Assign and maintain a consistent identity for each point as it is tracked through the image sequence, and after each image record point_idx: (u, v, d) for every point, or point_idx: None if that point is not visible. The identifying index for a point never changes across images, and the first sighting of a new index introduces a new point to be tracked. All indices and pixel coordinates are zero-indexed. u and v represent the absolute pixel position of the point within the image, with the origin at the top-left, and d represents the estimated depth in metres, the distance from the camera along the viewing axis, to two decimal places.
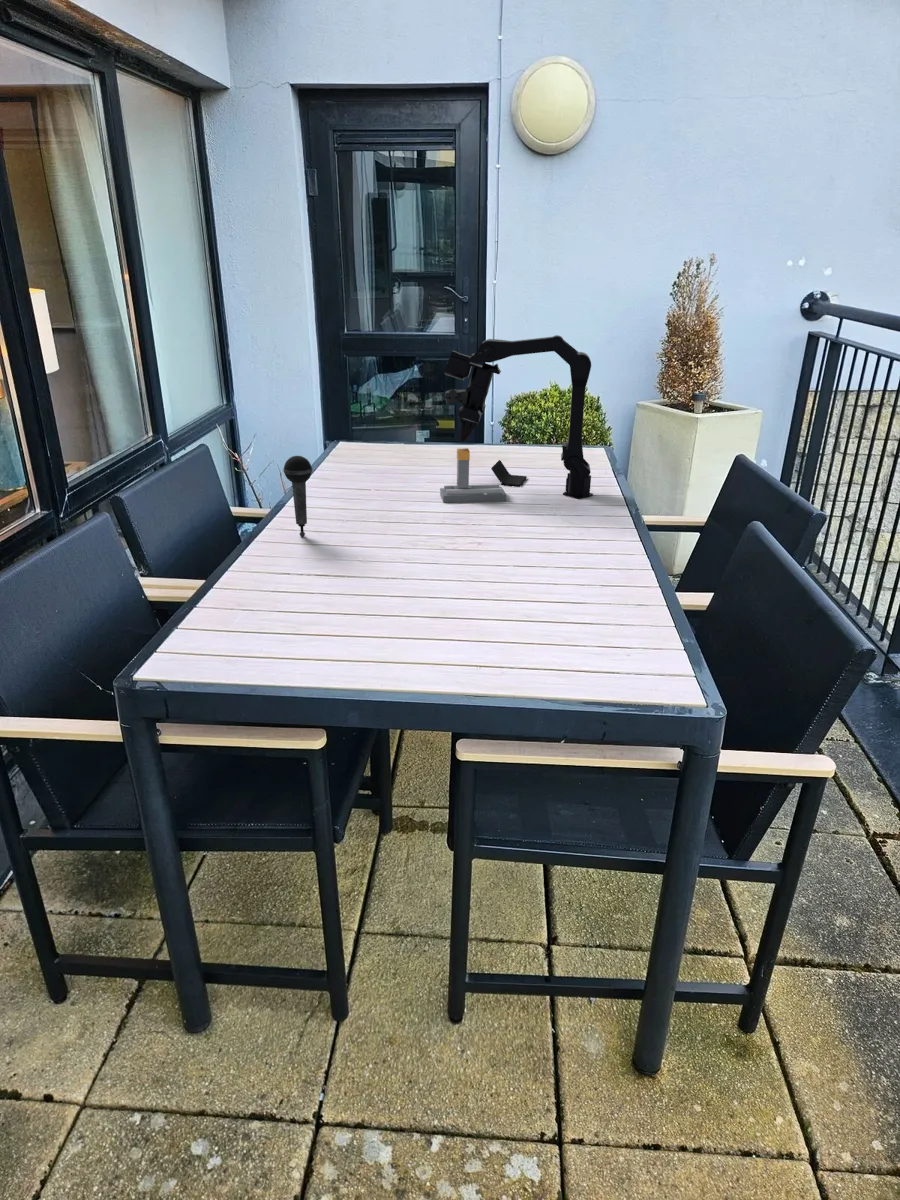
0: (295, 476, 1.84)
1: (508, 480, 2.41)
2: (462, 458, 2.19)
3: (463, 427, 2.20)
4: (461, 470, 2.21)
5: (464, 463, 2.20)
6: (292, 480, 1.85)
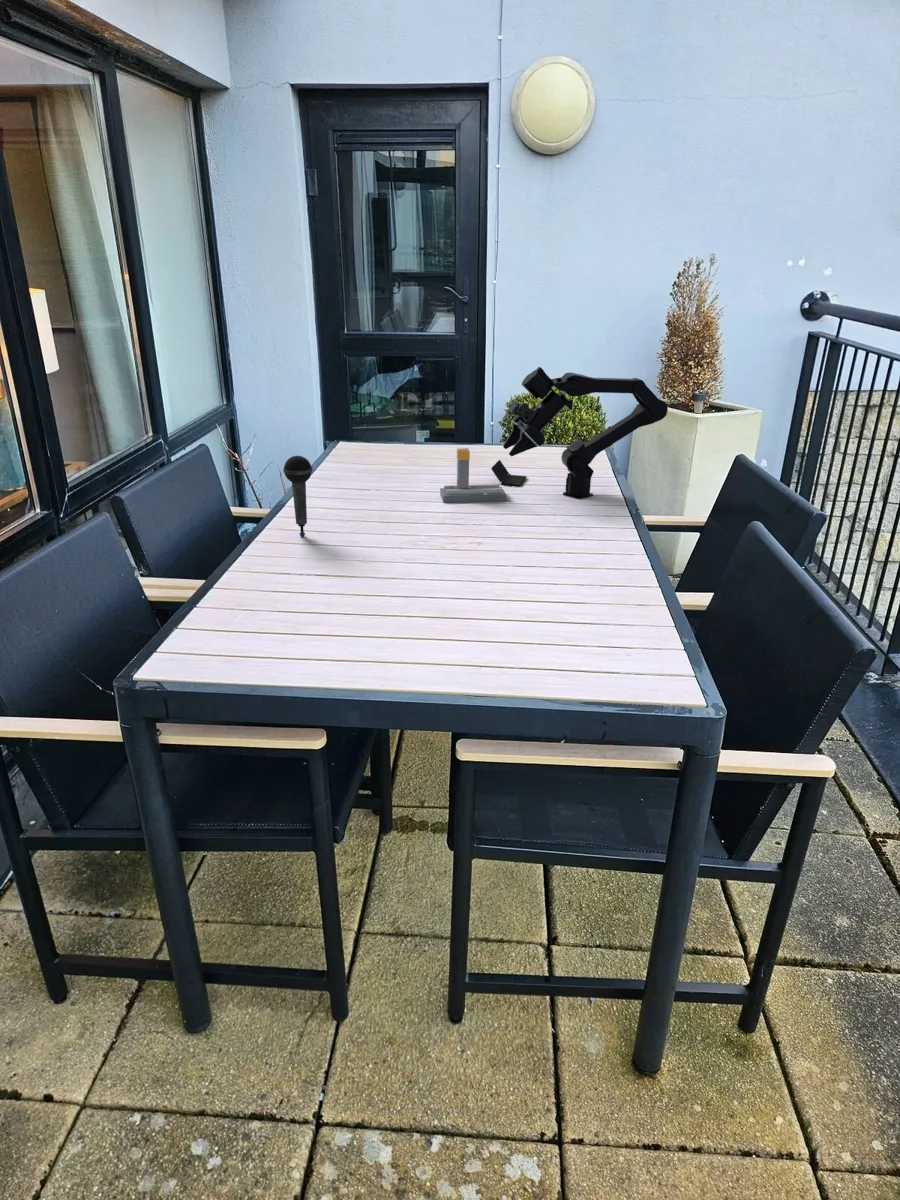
0: (295, 476, 1.84)
1: (508, 480, 2.41)
2: (462, 458, 2.19)
3: (520, 443, 2.15)
4: (461, 470, 2.21)
5: (464, 463, 2.20)
6: (292, 480, 1.85)
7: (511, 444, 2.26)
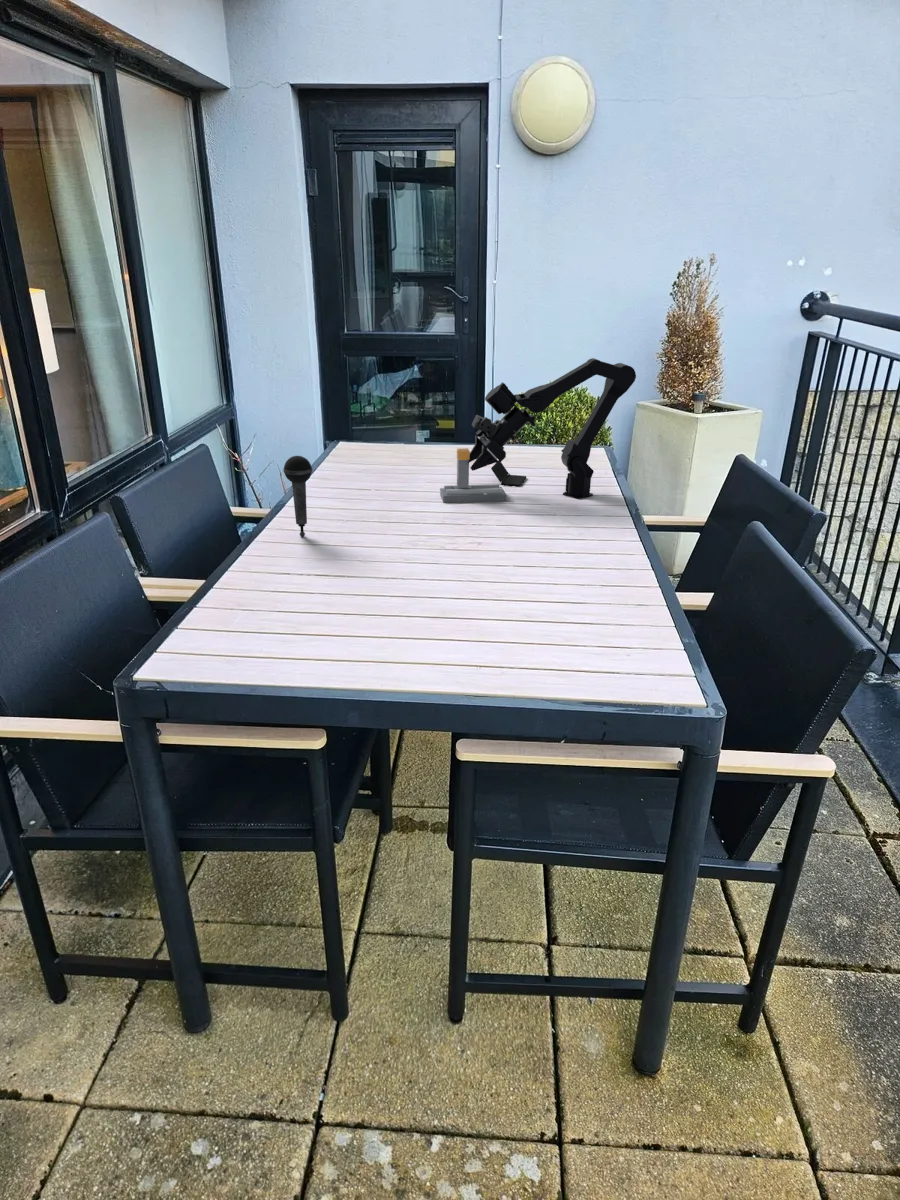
0: (295, 476, 1.84)
1: (508, 480, 2.41)
2: (462, 458, 2.19)
3: (481, 458, 2.16)
4: (461, 470, 2.21)
5: (464, 463, 2.20)
6: (292, 480, 1.85)
7: (474, 458, 2.26)
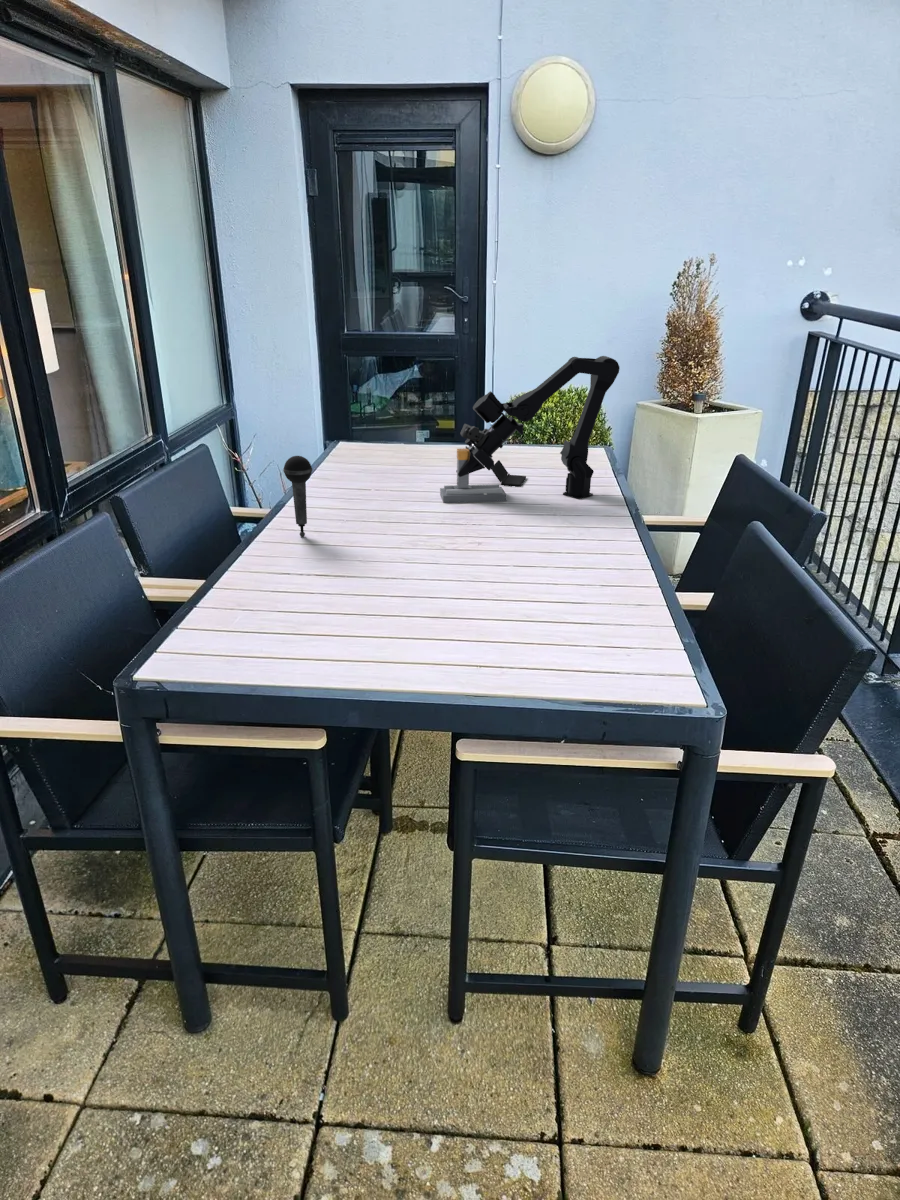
0: (295, 476, 1.84)
1: (508, 480, 2.41)
2: (462, 458, 2.19)
3: (468, 464, 2.19)
4: None
5: (464, 463, 2.20)
6: (292, 480, 1.85)
7: None
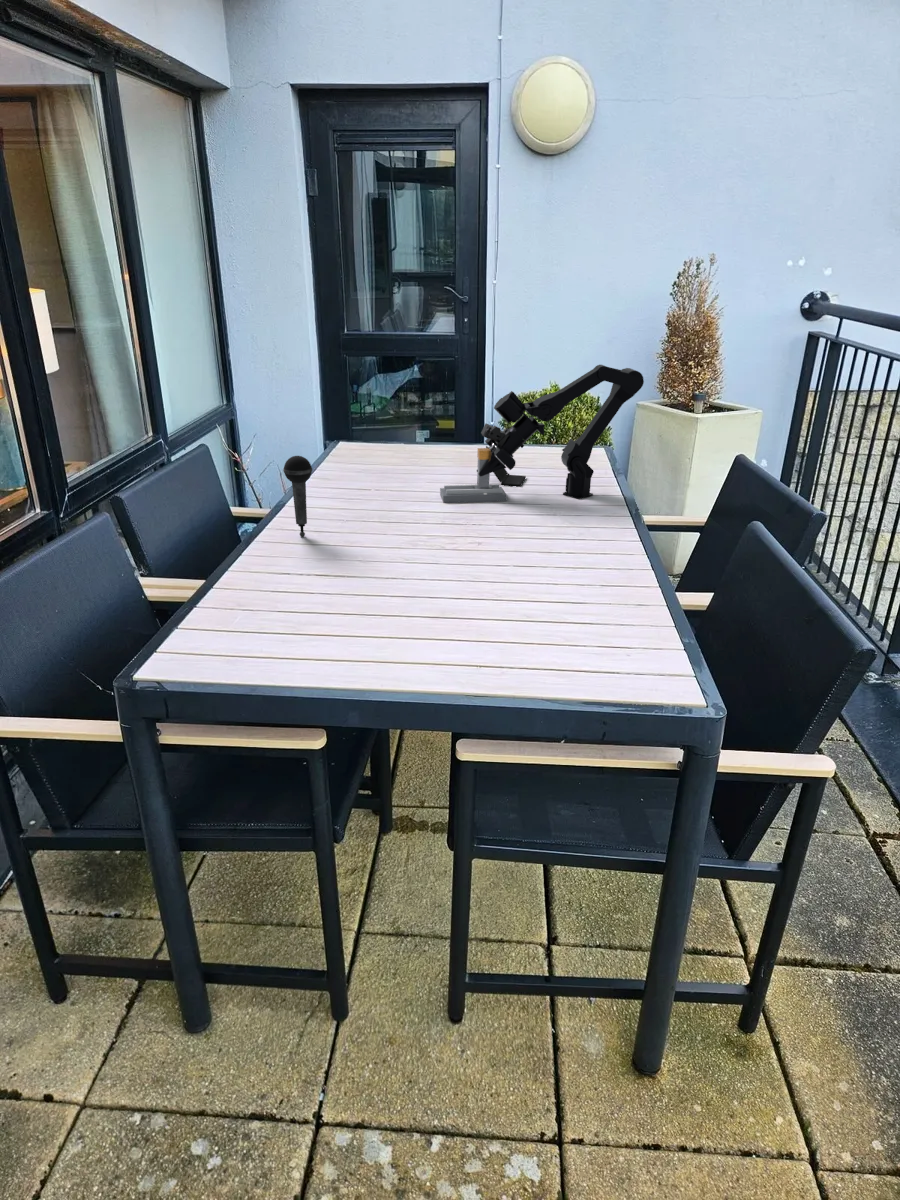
0: (295, 476, 1.84)
1: (508, 480, 2.41)
2: (483, 458, 2.20)
3: (489, 464, 2.19)
4: None
5: (485, 463, 2.21)
6: (292, 480, 1.85)
7: None
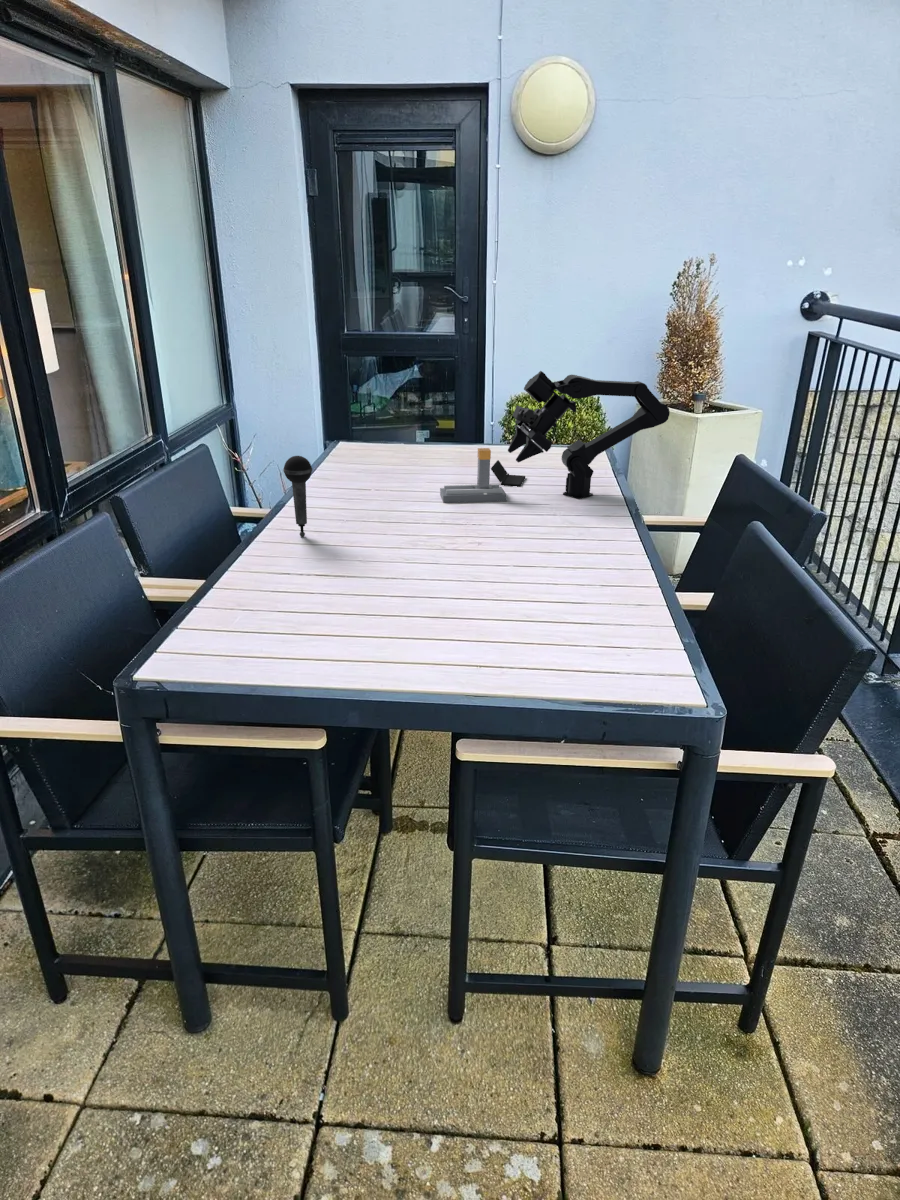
0: (295, 476, 1.84)
1: (507, 480, 2.41)
2: (483, 458, 2.20)
3: (526, 449, 2.16)
4: (482, 470, 2.21)
5: (485, 463, 2.21)
6: (292, 480, 1.85)
7: (515, 448, 2.27)
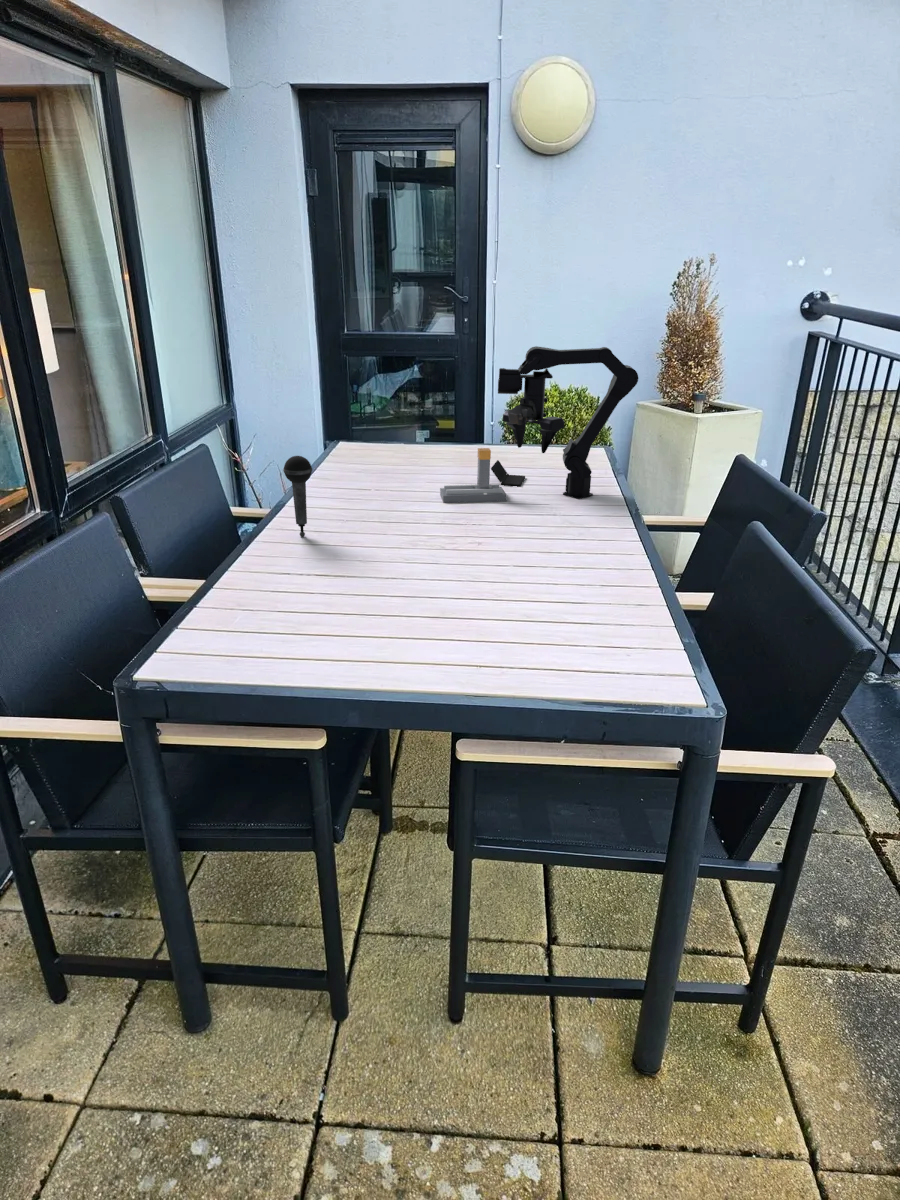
0: (295, 476, 1.84)
1: (507, 480, 2.41)
2: (483, 458, 2.20)
3: (546, 439, 2.19)
4: (482, 470, 2.21)
5: (485, 463, 2.21)
6: (292, 480, 1.85)
7: (522, 439, 2.28)
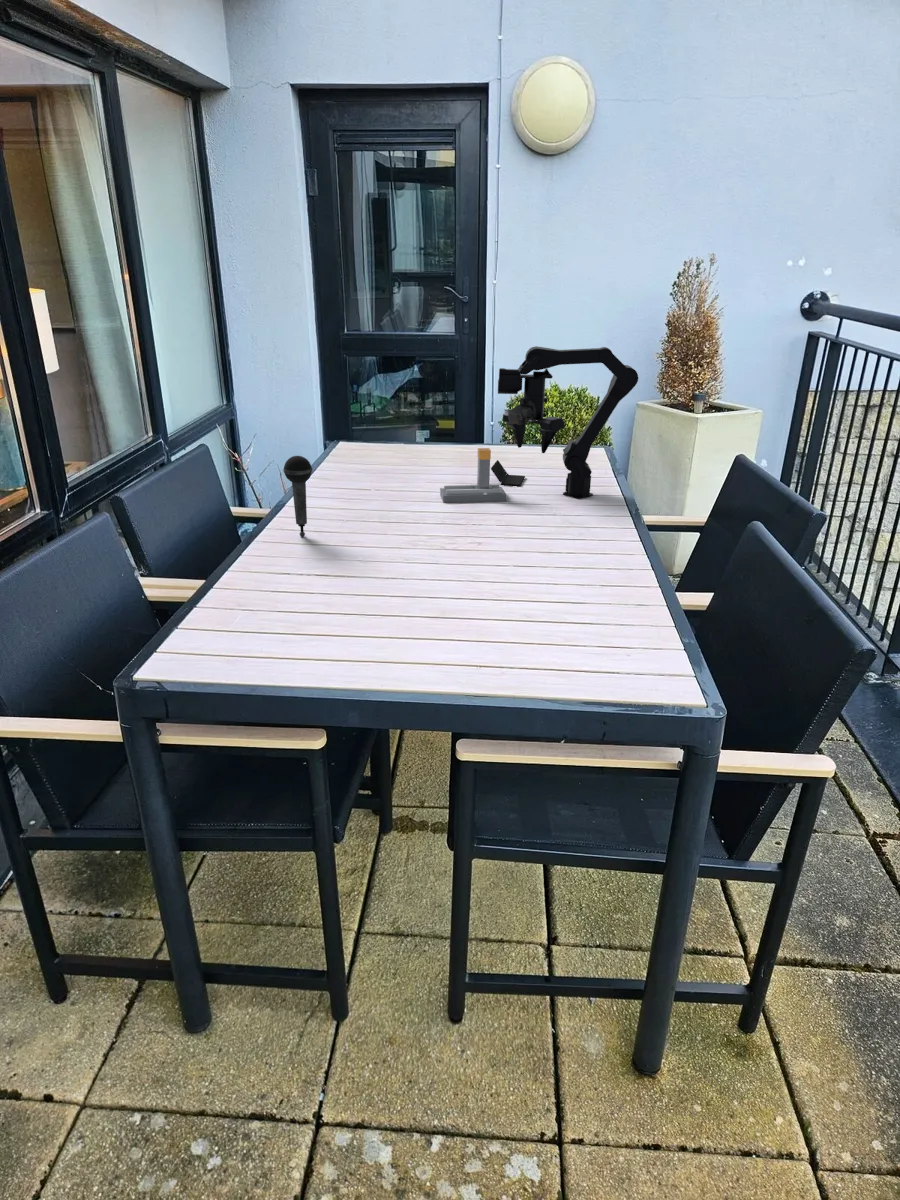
0: (295, 476, 1.84)
1: (507, 480, 2.41)
2: (483, 458, 2.20)
3: (546, 439, 2.19)
4: (482, 470, 2.21)
5: (485, 463, 2.21)
6: (292, 480, 1.85)
7: (522, 439, 2.28)
